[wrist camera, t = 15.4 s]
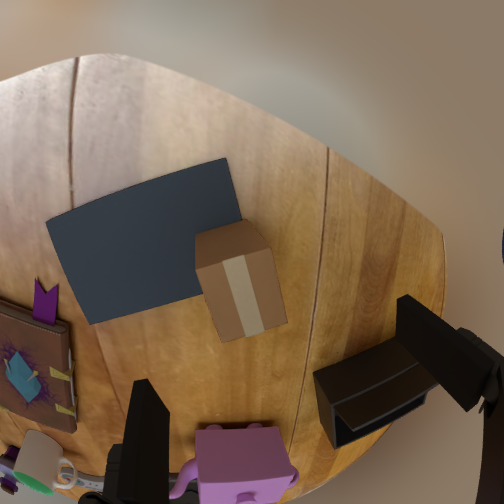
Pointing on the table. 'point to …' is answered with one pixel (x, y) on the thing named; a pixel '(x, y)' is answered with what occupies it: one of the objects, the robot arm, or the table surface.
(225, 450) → the teapot
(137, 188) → the mat
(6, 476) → the potion bottle
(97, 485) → the game controller
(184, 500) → the picture frame
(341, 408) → the flap
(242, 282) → the parcel
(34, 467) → the mug
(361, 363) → the carton
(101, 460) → the table surface
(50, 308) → the book
